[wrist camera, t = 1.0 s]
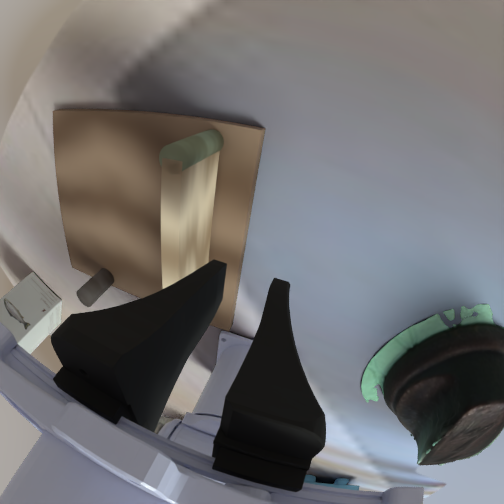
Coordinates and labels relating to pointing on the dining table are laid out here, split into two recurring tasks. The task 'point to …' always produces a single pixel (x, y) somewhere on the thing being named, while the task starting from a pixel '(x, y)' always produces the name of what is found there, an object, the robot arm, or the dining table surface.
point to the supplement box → (30, 312)
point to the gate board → (145, 197)
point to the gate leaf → (187, 203)
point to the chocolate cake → (444, 384)
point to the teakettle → (337, 484)
